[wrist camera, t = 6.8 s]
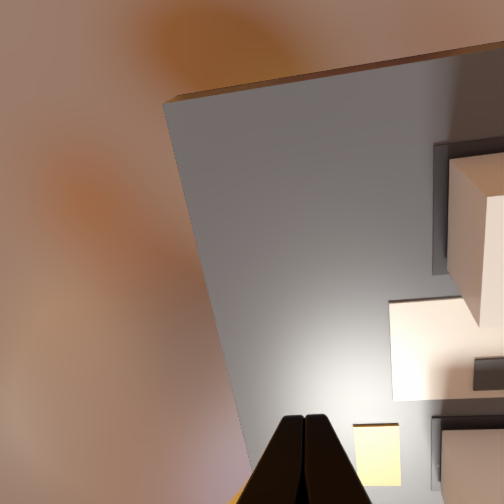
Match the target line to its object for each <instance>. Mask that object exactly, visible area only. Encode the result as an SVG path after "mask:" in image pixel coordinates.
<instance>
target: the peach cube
mask: <svg viewBox="0 0 504 504" xmlns="http://www.w3.org/2000/svg"><path fill="white" fill-rule="evenodd" d="M441 494H442V498H443V502H444V504H504V429H484V430H442V454H441Z"/></svg>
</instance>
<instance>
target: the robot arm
mask: <svg viewBox="0 0 504 504" xmlns="http://www.w3.org/2000/svg"><path fill="white" fill-rule="evenodd" d="M236 504H372V502H371V500H370V498H369V496H368V494H367V492H366V490H365V488H364V486H363V484H362V483H361V481H360V479H359V477H358V475H357V473H356V471H355V469H354V467H353V465H352V463H351V461H350V459H349V457H348V455H347V453H346V451H345V450H344V448H343V446H342V444H341V442H340V440H339V438H338V436H337V434H336V432H335V430H334V428H333V426H332V424H331V422H330V420H329V418H328V417H327V416H326V415H325V414H308V415H306V416H305V417H304V416H303V415H286V416H284V417H282V419H281V420H280V422H279V424H278V426H277V428H276V430H275V432H274V434H273V435H272V437H271V439H270V441H269V443H268V445H267V447H266V449H265V450H264V452H263V454H262V456H261V458H260V460H259V462H258V464H257V466H256V467H255V469H254V471H253V473H252V475H251V477H250V479H249V481H248V482H247V484H246V486H245V488H244V490H243V492H242V494H241V496H240V497H239V499H238V501H237V503H236Z"/></svg>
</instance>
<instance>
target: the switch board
mask: <svg viewBox="0 0 504 504" xmlns="http://www.w3.org/2000/svg"><path fill="white" fill-rule="evenodd" d="M162 105H163V110H164V114H165V118H166V122H167V126H168V129H169V134H170V138H171V142H172V146H173V151H174V155H175V159H176V163H177V167H178V171H179V175H180V179H181V183H182V187H183V192H184V196H185V200H186V204H187V208H188V212H189V216H190V220H191V224H192V228H193V232H194V237H195V241H196V245H197V248H198V253H199V257H200V261H201V265H202V269H203V273H204V277H205V281H206V286H207V290H208V294H209V298H210V302H211V306H212V310H213V314H214V318H215V322H216V326H217V331H218V335H219V339H220V343H221V347H222V351H223V355H224V359H225V363H226V367H227V371H228V376H229V380H230V384H231V388H232V392H233V396H234V400H235V404H236V408H237V412H238V417H239V421H240V425H241V429H242V433H243V437H244V441H245V445H246V449H247V453H248V457H249V462H250V465H251V470H252V473H253V471H254V469H255V467H256V466H257V464H258V462H259V460H260V458H261V456H262V454H263V452H264V450H265V449H266V447H267V445H268V443H269V441H270V439H271V437H272V435H273V434H274V432H275V430H276V428H277V426H278V424H279V422H280V420H281V419H282V417H284V416H286V415H303V416H304V417H305V416H306V415H308V414H325V415H326V416H327V417H328V418H329V420H330V422H331V424H332V426H333V428H334V430H335V432H336V434H337V436H338V438H339V440H340V442H341V444H342V446H343V448H344V450H345V451H346V453H347V455H348V457H349V459H350V461H351V463H352V465H353V467H354V469H355V471H356V473H357V475H358V477H359V479H360V481H361V483H362V484H363V486H364V488H365V490H366V492H367V494H368V496H369V498H370V500H371V502H372V504H444V502H443V498H442V494H441V454H442V430H484V429H504V327H489V328H479V327H478V325H477V323H476V321H475V319H474V318H473V316H472V314H471V312H470V310H469V308H468V307H467V305H466V303H465V301H464V299H463V297H462V296H461V294H460V292H459V290H458V288H457V286H456V285H455V283H454V281H453V279H452V277H451V275H450V274H449V272H448V270H447V248H448V204H449V161H450V159H456V158H464V157H472V156H480V155H487V154H495V153H503V152H504V41H501V42H495V43H489V44H483V45H477V46H472V47H465V48H459V49H453V50H447V51H441V52H435V53H429V54H423V55H417V56H411V57H405V58H399V59H393V60H388V61H381V62H375V63H369V64H363V65H357V66H351V67H345V68H339V69H333V70H327V71H321V72H315V73H309V74H303V75H297V76H291V77H285V78H279V79H273V80H267V81H261V82H255V83H249V84H243V85H237V86H231V87H225V88H219V89H213V90H207V91H201V92H195V93H189V94H183V95H178V96H176V97H174V98H172V99H170V100H169V101H167V102H165V103H163V104H162Z"/></svg>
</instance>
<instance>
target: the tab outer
mask: <svg viewBox="0 0 504 504" xmlns="http://www.w3.org/2000/svg"><path fill="white" fill-rule="evenodd" d="M447 270H448V272H449V274H450V275H451V277H452V279H453V281H454V283H455V285H456V286H457V288H458V290H459V292H460V294H461V296H462V297H463V299H464V301H465V303H466V305H467V307H468V308H469V310H470V312H471V314H472V316H473V318H474V319H475V321H476V323H477V325H478V327H479V328H489V327H504V152H503V153H495V154H487V155H480V156H472V157H464V158H456V159H450V161H449V204H448V248H447Z"/></svg>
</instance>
